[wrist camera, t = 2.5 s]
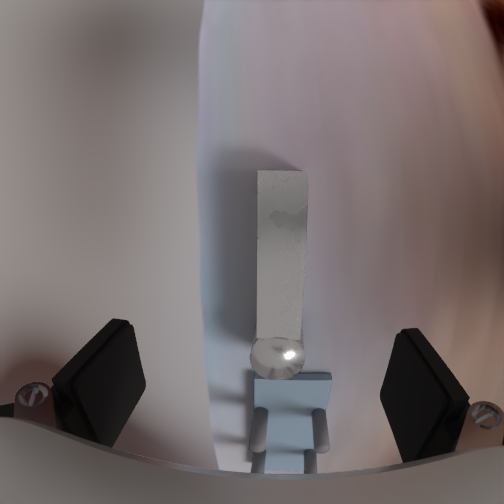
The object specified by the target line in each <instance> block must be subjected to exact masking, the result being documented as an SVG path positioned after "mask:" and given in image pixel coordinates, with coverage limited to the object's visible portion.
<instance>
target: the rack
mask: <svg viewBox="0 0 504 504" xmlns="http://www.w3.org/2000/svg"><path fill="white" fill-rule="evenodd" d="M331 385H332V376H331V373H297V374H296V375H295V376H293V377H291V378H289V379H285V380H269V379H266V378H264V377H262V376H260V375H259V374H257V373H256V372H255V378H254V416H253V423H252V430H251V436H250V443H249V449H250V450H251V451H252V452H254V454H253V461H252V468H251V473H260V474H264V470H277V471H304V474H317V460H316V453H319V454H321V453H326V452H328V451H329V450H330V444H329V435H328V427H327V419H326V409H327V404H328V399H329V394H330V390H331Z"/></svg>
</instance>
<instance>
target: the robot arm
mask: <svg viewBox="0 0 504 504" xmlns="http://www.w3.org/2000/svg"><path fill="white" fill-rule="evenodd" d="M52 381H53V384H54V385H53V386H52V388H51V387H50V386H49V385H48V384H46V383H43V382H31V383H28V384H26V385H24V386H22V387H21V388H20V389H19V390H18V391H17V392H16V395H15V399H14V403H11V404H6V405H1V406H0V504H504V412H503V411H502V410H501V409H500V407H498V406H497V405H495V404H493V403H491V402H486V401H479V402H476V403H473V404H472V405H470V404H469V402H468V400H469V398H470V397H469V396H468V394H467V393H466V392H465V390H464V389H463V387H462V386H461V385H460V383H459V382H458V380H457V379H456V378H455V376H454V375H453V373H452V372H451V371H450V369H449V368H448V367H447V365H446V364H445V363H444V361H443V360H442V359H441V357H440V356H439V355H438V353H437V352H436V351H435V349H434V348H433V347H432V345H431V344H430V343H429V342H428V340H427V339H426V338H425V336H424V335H423V334H422V333H421V331H420V330H419V329H418V328H409V329H402V330H401V332H400V333H398V334H397V335H396V337H395V342H394V346H393V349H392V353H391V357H390V361H389V364H388V368H387V371H386V375H385V378H384V381H383V385H382V388H381V391H380V399H381V402H382V405H383V408H384V410H385V413H386V416H387V418H388V421H389V424H390V427H391V429H392V432H393V435H394V438H395V441H396V444H397V446H398V449H399V452H400V455H401V458H402V461H403V463H401V464H395V465H389V466H384V467H377V468H371V469H363V470H355V471H345V472H333V473H317V474H260V473H244V472H232V471H222V470H213V469H206V468H199V467H193V466H186V465H181V464H175V463H169V462H165V461H161V460H156V459H152V458H147V457H143V456H139V455H135V454H132V453H128V452H124V451H121V450H117V449H114V448H112V446H113V445H114V443H115V441H116V440H117V438H118V436H119V434H120V433H121V431H122V429H123V427H124V425H125V424H126V422H127V420H128V418H129V417H130V415H131V413H132V411H133V410H134V408H135V406H136V405H137V403H138V401H139V399H140V397H141V396H142V394H143V392H144V390H145V387H146V381H145V377H144V373H143V369H142V365H141V361H140V356H139V351H138V347H137V342H136V337H135V332H134V327H133V326H132V325H130V323H129V321H127V320H121V319H112V320H111V321H109V322H108V323H107V324H106V325H105V327H103V328H102V329H101V330H100V331H99V332H98V333H97V334H96V335H95V336H94V337H93V338H92V339H91V340H90V341H89V342H88V343H87V344H86V345H85V346H84V347H83V348H82V349H81V350H80V351H79V352H78V353H77V354H76V355H75V356H74V357H73V358H72V359H71V360H70V361H69V362H68V363H67V364H66V365H65V366H64V367H63V368H62V369H61V370H60V371H59V372H58V373H57V374H56V375H55V376H54V377H53V378H52Z"/></svg>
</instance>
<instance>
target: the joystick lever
mask: <svg viewBox="0 0 504 504" xmlns="http://www.w3.org/2000/svg"><path fill="white" fill-rule="evenodd" d="M307 212H308V171H278V170H257V325H256V328H255V333H254V338H253V344H252V349H251V354H250V363H251V366H252V368H253V369H254V371H255V372H256V373H257V374H259V375H260V376H262V377H264V378H266V379H269V380H285V379H289V378H291V377H293V376H295V375H296V374H297V373H298V372H299V371H300V370H301V369H302V367H303V365H304V361H305V356H304V345H303V334H302V328H301V322H302V309H303V295H304V279H305V261H306V240H307Z"/></svg>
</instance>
